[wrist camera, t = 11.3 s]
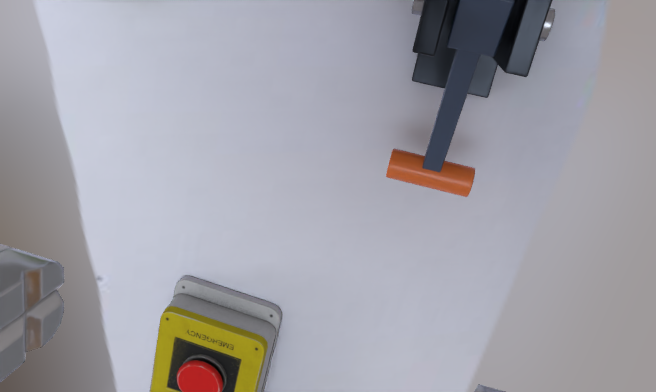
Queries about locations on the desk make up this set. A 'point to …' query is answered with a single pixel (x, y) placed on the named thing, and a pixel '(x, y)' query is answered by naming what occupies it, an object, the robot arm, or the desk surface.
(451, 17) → the switch bracket
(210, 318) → the emergency button
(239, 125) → the desk surface
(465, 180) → the switch lever
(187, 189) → the desk surface
